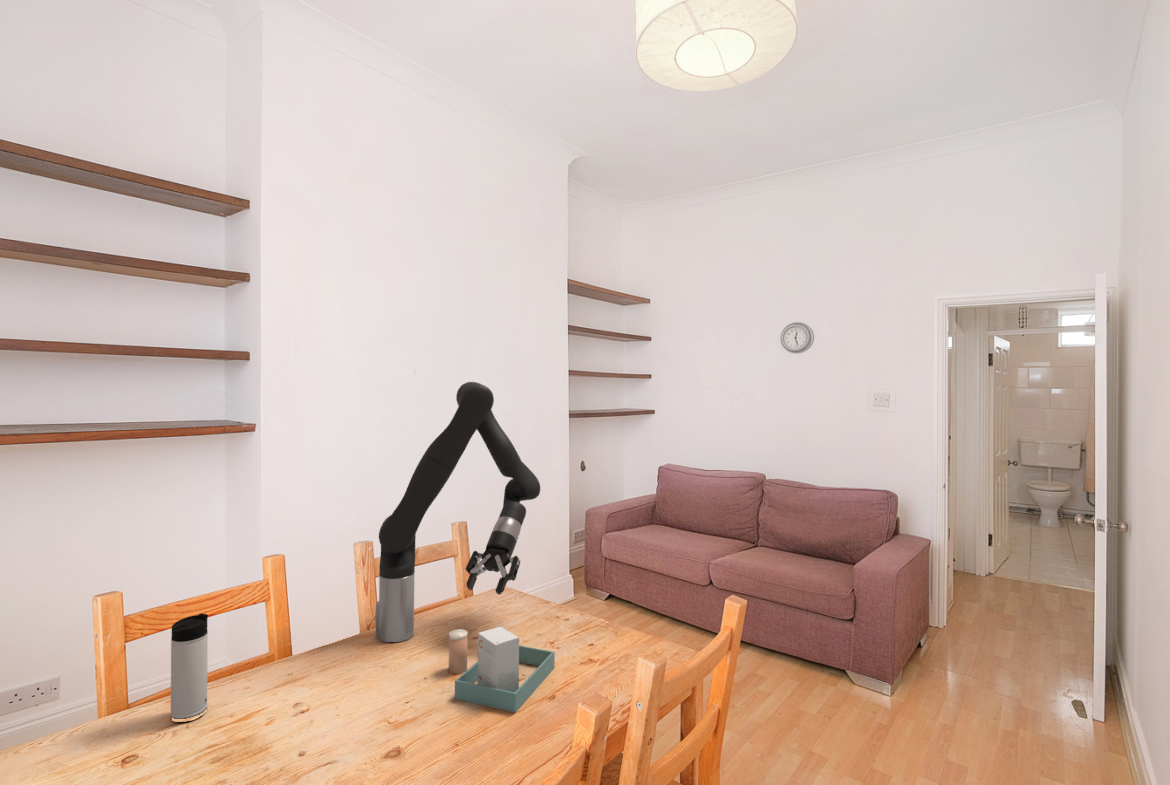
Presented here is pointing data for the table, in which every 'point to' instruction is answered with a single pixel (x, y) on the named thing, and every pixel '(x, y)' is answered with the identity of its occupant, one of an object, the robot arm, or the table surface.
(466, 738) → the table surface
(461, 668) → the jar
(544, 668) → the tray
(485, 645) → the small box
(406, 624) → the robot arm
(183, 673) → the travel mug
